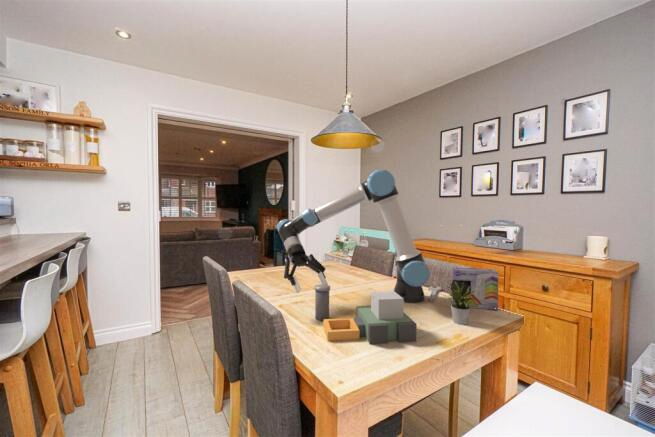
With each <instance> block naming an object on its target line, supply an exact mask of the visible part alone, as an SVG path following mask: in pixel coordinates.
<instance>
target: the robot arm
mask: <svg viewBox="0 0 655 437" xmlns="http://www.w3.org/2000/svg"><path fill="white" fill-rule="evenodd" d="M398 197H399V192H398V189H397V186H396V180H395V177H394V175H393V174H392V173H391V172H390V171H389V170H387V169H383V168H382V169H377V170H374V171H372V172H371V173H370V175H369V176H368V178H367V180H365V181H363V182H361V183H359V186H357V187H356V188H354V189H352V190H350V191H348V192H346V193H344V194H342V195H340V196H338V197H336V198H334V199H332V200H330V201H328V202H326V203H323V204H322V205H320V206H318V207H316V208H313V209H312V208H307V209H305V210H303V211H302V212H300V213H299V214H298V215H296V216H295V217H293V219H291V220H290V219H288V218H284V219H281V220H280V221H278V223H277V225H276V228H277V229H276V230H277V232H278V235H279V236H280V239H281V241H282V243H283V245H284V248H285V251H286V252H287V255H288V256H286V257H285V259H284V265H285V266H284V272H283V273H284V274H283V278H284V279H285V280H286V279H287V280H288V281H289V282H290V283H291V286H293V287H294V289H295V290H294V291H295V292H296V294H299V293H300V292H301V290H302V289H301V285H300V283H299V282H298V279H297V277H296V275H294V274H295V272H296V269H297V267H298V268H300V267H307V268H309V269H311V270H312V271H314V272H315V273H317V276H318V278H319V281H320V282H321V285H322V284H323V285H329V283H328V282H327V279H326V278H327V276H326V275H325V272H326V267H325V266H324V265H322V263H320V262H319V261H318V260H317V259H316V258H315V257H314V255H313V254H312V253H311V254H309V255H307V254H306V251H305V248H304V247H303V246H304V245H302V244H303V243H302V242H301V240H300V237H299V236H298V235H299V234H301V233H302V232H304V231H305V230H307V229H309V228H312V227H315V226H316V225H317V224H320V223H322V222H324V221H326V220H328V219H330V218H332V217H334V216H337V215H339V214H340V213H343V212H344V211H345V212H346V211H347V210H348V209H352V208H354V206H357V205H358V204H361V203H363V202H370V201H372V202H373V203H374V205H376V206H378V207H379V208H378V209H379V210H380V213H381V216H382V219H383V220H384V223H385V227H386V229H387V232H388V234H389V236H390V237H389V238H390V240H391V241H392V244H393V247H394V249H395V253H396V257H395V261H396V262H395V263H396V267H397V268H396V283H395V286H394V288H393V291H395V292H396V293H397V294H398V295H400V296H401V297H402V298H403V299H404V303H422V302H423V301H425V292H424V289H423V285H425V284H426V283H427V282H428V280H429V279H430V275H431V274H430V273H431V272H430V269H429V268H430V267H429V266H428V265H427V264H426V262H425V258H424V257H423V254H422V252H421V250H418V249H417V248H416V246H415V243H414V240H413V238H412V235H411V232H410V230H409V228H408V225H407V222H406V218H405V217H404V214H403V212H402V209H401V207H400V204H399V201H398ZM291 263H292V264H293V265H292V268H291V270H290V266H291Z"/></svg>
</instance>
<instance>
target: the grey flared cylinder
mask: <svg viewBox="0 0 655 437" xmlns="http://www.w3.org/2000/svg"><path fill="white" fill-rule="evenodd" d="M330 290H331V286H330V285H329V284H328V285H323V284H322V283H321V284H316V285H314V291H315V296H314V297H315V302H314V303H315V308H314V309H315V310H314V311H315V314H314V315H315V316H314V319H315V320H316V321H318V322H324V319H330Z"/></svg>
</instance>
